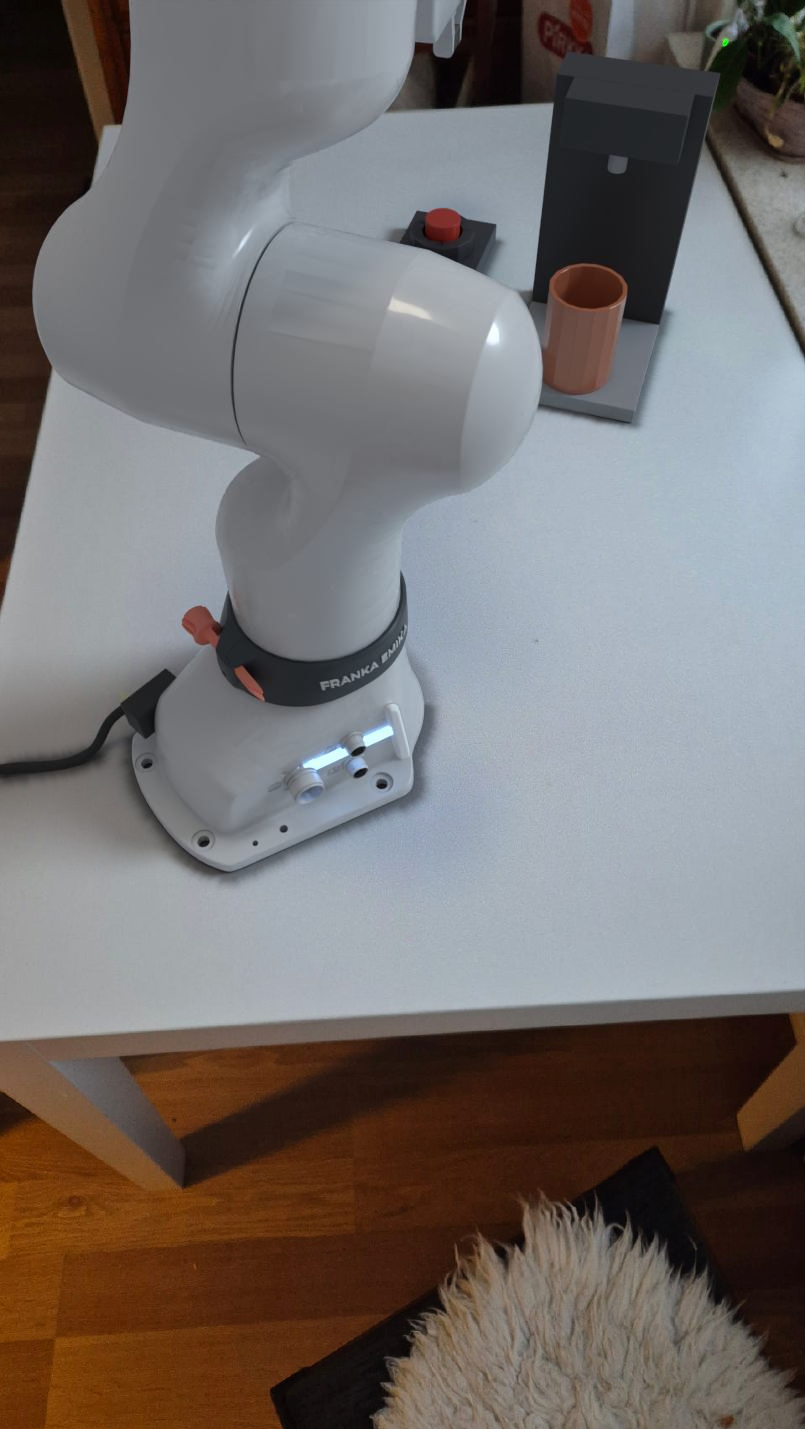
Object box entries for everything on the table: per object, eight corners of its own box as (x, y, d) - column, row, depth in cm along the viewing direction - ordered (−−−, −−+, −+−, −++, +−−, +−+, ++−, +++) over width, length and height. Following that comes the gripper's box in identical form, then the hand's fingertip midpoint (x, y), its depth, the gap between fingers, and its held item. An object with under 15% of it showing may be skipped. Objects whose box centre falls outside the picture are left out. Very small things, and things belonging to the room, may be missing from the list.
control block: (468, 303, 104) (470, 268, 101) (385, 288, 106) (384, 253, 103) (495, 243, 110) (498, 207, 107) (416, 229, 112) (416, 194, 108)
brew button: (454, 246, 104) (454, 230, 102) (420, 240, 104) (420, 224, 103) (463, 227, 106) (464, 211, 104) (430, 221, 106) (431, 205, 105)
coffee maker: (632, 423, 95) (688, 183, 75) (497, 396, 97) (518, 156, 77) (663, 313, 103) (720, 73, 84) (539, 290, 105) (567, 51, 86)
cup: (572, 404, 94) (586, 321, 86) (524, 366, 97) (533, 282, 89) (625, 375, 96) (643, 291, 88) (577, 338, 99) (590, 254, 91)
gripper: (453, -85, 73) (448, 114, 84) (522, -186, 83) (509, 3, 95) (370, -95, 74) (377, 103, 85) (448, -194, 84) (444, -5, 96)
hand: (447, 50), depth 90 cm, fingers closed
